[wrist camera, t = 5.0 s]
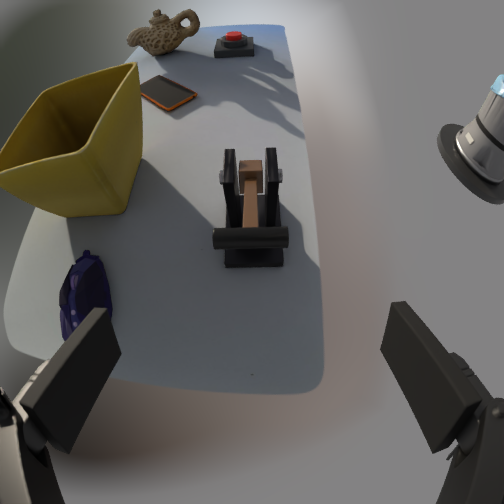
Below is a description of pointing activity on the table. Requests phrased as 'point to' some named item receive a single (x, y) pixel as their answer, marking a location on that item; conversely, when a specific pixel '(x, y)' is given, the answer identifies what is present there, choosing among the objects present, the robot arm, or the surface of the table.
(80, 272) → the computer mouse
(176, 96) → the smartphone
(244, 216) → the switch lever
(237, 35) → the power button
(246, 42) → the control block
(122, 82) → the flower pot
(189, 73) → the table surface
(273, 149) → the switch bracket
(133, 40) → the teapot
